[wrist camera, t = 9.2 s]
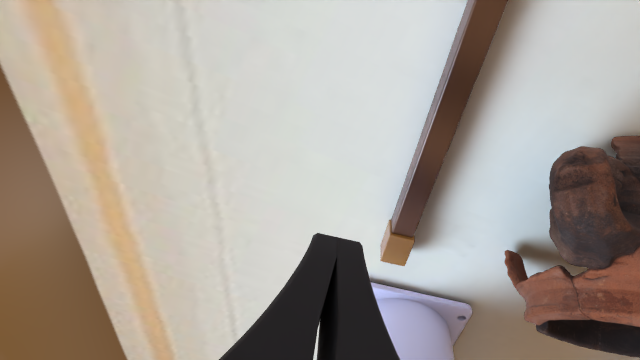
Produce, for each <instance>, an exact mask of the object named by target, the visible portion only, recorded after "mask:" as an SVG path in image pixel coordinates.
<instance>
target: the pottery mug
mask: <svg viewBox="0 0 640 360" xmlns="http://www.w3.org/2000/svg"><path fill="white" fill-rule="evenodd" d="M611 146H612V148H613V149H614V151H615V152H616V153H617V154H616V157H617V159H616V158H614V157H611V156H607V154H606V152H605V151H604V150H602V149H600V148H590V147H583V146H582V147H578V148H576V149H573V150H570V151H567V152H564V153H563V154H562V155H561V156H560V157H559V158H558V159H557V160H556V161H555V162H554V164H553V166H552V168H551V171H550V184H549V189H550V200H551V206H552V209H551V210H550V230H549V233H550V237H551V239H552V241H553V242H554V243H555V245H556V247H557V248H558V250H559V253H560V255H561V257H562V258H563V259H565V260H566V261H567V262H568V263H570V264H572V265H575V266H579V267H588V269H587V271H585V272H582V273H580V274H578V275H576V276H572V275H571V274H570V273H569V272H568V271H567V270H566V269H565V267H563V266H560V265H559V266H555V267H552V268H550V269H549V270H546V271H544V272H539V273H536V274H534V275H532V276H530V277H529V278H528V277H527V275H526V272H525V268H524V264H523V260H522V257H521V256H520V255H519V254H517V253H515V252H512V251H509V250H506V251H505V256H506V259H505V264H506V266H507V269H508V276H509V277H510V279H511V281H512V282H513V285H514V287H515V288H516V290H517V291H518V292H519V294H520V295H521V296H522V297H523V298H524V299H525V301H526V311H525V314H524V319H525V320H526V321H527V322H531V323H534V324H536V329H537V331H539V332H540V333H542V334H545V335H547V336H550V337H552V338H556V339H558V340H561V341H565V342H568V343H571V344H574V345H577V346H581V347H585V348H589V349H594V350H600V351H604V352H608V353H615V354H619V355H626V356H630V357H639V358H640V136H621V137H614V138H613V139H612V141H611Z"/></svg>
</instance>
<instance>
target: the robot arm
mask: <svg viewBox="0 0 640 360" xmlns="http://www.w3.org/2000/svg"><path fill="white" fill-rule="evenodd" d="M472 313H473V312H472V308H471V306H470V305H468V304H466V303H461V302H457V301H452V300H448V299H443V298H439V297H434V296H430V295H425V294H421V293H416V292H412V291H407V290H403V289H398V288H394V287H390V286H385V285H381V284H376V283H372V282H370V279H369V275H368V271H367V267H366V263H365V259H364V254H363V247H362V245H361V244H360V242H356V241H351V240H347V239H342V238H338V237H333V236H329V235H324V234H320V233H317V234H315V235H313V238H312V241H311V243H310V245H309V248H308V250H307V252H306V253H305V255H304V257H303V259H302V260H301V262H300V264H299V265H298V267H297V268H296V270H295V271H294V273H293V274H292V276H291V277H290V279H289V280H288V282H287V283H286V285H285V286H284V287H283V289H282V290H281V291H280V293H279V294H278V295H277V296H276V298H275V299H274V300H273V302H272V303H271V304H270V305H269V307H268V308H267V309H266V310H265V312H264V313H263V314H262V315H261V316H260V317H259V319H258V320H257V321H256V322H255V323H254V324H253V325H252V326H251V328H250V329H249V330H248V331H247V332H246V333H245V334H244V335H243V336H242V337H241V338H240V339H239V340H238V341H237V342H236V343H235V344H234V345H233V346H232V347H231V348H230V349H229V350H228V351H227V352H226V353H225V354H224V355H223V356H222V357H221V358H220V359H219V360H313V356H314V349H315V343H316V336H317V329H318V325H319V322H320V327H319V340H318V353H317V360H455V359H454V353H453V345H454V343H455V342H456V340H457V338H458V337H459V335H460V333H461V332H462V330H463V329H464V327H465V325H466V324H467V322H468V320H469V319H470V317H471V315H472ZM461 315H462V316H461Z"/></svg>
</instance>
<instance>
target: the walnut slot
mask: <svg viewBox="0 0 640 360" xmlns="http://www.w3.org/2000/svg"><path fill="white" fill-rule="evenodd" d="M507 2H508V0H468V2H467V4H466V7H465V10H464V13H463V16H462V19H461V22H460V25H459V27H458V30H457V33H456V36H455V39H454V42H453V45H452V47H451V50H450V53H449V56H448V59H447V62H446V65H445V68H444V70H443V73H442V76H441V79H440V82H439V85H438V88H437V90H436V93H435V96H434V99H433V102H432V105H431V108H430V111H429V113H428V116H427V119H426V122H425V125H424V128H423V131H422V133H421V136H420V139H419V142H418V145H417V148H416V151H415V154H414V156H413V159H412V162H411V165H410V168H409V171H408V174H407V176H406V179H405V182H404V185H403V188H402V191H401V194H400V196H399V199H398V202H397V205H396V208H395V211H394V214H393V217H392V219H391V220H389V222H388V225H387V228H386V231H385V234H384V237H383V240H382V243H381V261H383V262H387V263H392V264H396V265H401V266H405V264H406V261H407V259H408V257H409V254H410V252H411V249H412V247H413V244H414V242H415V237H414V233H415V231H416V228H417V226H418V223H419V221H420V218H421V216H422V213H423V211H424V208H425V206H426V203H427V201H428V199H429V196H430V194H431V191H432V189H433V186H434V184H435V181H436V179H437V176H438V174H439V171H440V169H441V166H442V164H443V161H444V159H445V156H446V154H447V151H448V149H449V146H450V144H451V141H452V139H453V136H454V134H455V131H456V129H457V126H458V124H459V122H460V119H461V117H462V114H463V112H464V109H465V107H466V104H467V102H468V99H469V97H470V94H471V92H472V89H473V87H474V84H475V82H476V79H477V77H478V74H479V72H480V69H481V67H482V64H483V62H484V59H485V57H486V54H487V52H488V50H489V47H490V45H491V42H492V40H493V37H494V35H495V32H496V30H497V27H498V25H499V22H500V20H501V17H502V15H503V12H504V10H505V7H506V5H507Z"/></svg>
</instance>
